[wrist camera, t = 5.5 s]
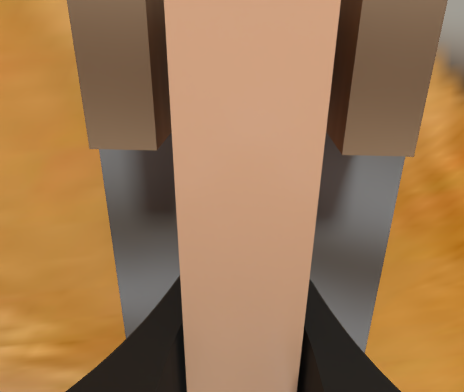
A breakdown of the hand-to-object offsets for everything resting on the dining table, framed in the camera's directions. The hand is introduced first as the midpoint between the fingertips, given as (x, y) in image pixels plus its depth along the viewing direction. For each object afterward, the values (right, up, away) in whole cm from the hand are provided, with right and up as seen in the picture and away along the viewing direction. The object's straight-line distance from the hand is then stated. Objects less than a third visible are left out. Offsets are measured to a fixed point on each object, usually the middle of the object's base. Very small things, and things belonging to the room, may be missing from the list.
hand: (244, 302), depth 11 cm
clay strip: (0, +1, +2) cm, 2 cm away
